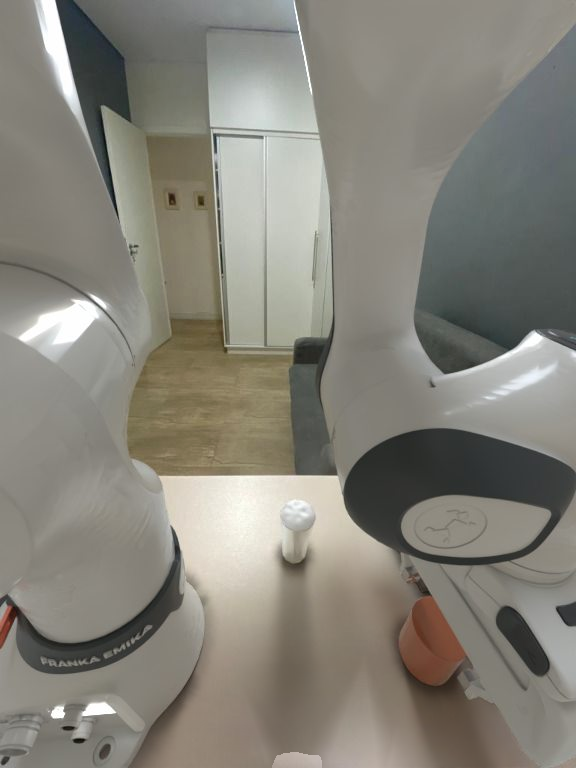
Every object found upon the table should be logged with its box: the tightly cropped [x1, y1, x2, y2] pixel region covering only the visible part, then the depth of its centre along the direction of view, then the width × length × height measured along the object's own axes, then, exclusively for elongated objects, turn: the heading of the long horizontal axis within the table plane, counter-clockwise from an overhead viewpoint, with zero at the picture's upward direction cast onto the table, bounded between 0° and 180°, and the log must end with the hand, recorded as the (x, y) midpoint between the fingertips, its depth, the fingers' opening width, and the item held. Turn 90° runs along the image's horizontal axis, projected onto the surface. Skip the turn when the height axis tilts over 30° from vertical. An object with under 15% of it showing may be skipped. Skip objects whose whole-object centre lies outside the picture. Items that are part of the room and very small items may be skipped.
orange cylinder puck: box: [397, 595, 468, 687], centre depth 33 cm, size 6×6×6 cm
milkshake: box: [279, 498, 317, 565], centre depth 41 cm, size 4×5×10 cm
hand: (434, 624), depth 31 cm, fingers open, 8 cm apart
